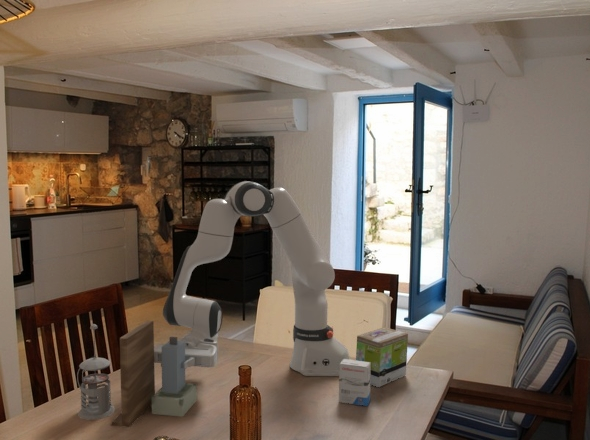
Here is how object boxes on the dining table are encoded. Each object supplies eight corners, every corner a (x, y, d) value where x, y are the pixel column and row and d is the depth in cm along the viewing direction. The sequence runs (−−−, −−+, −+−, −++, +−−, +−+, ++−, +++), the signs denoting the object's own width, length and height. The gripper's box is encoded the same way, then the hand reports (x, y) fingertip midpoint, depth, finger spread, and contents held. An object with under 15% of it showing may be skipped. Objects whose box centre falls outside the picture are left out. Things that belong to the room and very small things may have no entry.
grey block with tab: (185, 385, 161) (185, 334, 159) (177, 393, 155) (176, 341, 153) (170, 383, 162) (170, 333, 160) (161, 392, 156) (161, 340, 154)
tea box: (379, 389, 173) (380, 342, 171) (354, 379, 180) (355, 335, 178) (407, 376, 183) (408, 332, 182) (382, 367, 190) (383, 325, 189)
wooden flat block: (154, 401, 162) (153, 321, 160) (129, 427, 147) (126, 338, 144) (138, 400, 163) (137, 320, 160) (111, 425, 147) (108, 337, 145)
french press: (93, 423, 149) (90, 332, 146) (65, 412, 155) (62, 324, 152) (122, 409, 157) (120, 322, 154) (95, 399, 163) (92, 316, 160)
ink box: (370, 400, 165) (371, 361, 163) (367, 407, 160) (368, 367, 159) (342, 395, 167) (343, 357, 166) (338, 402, 163) (339, 363, 162)
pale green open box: (196, 399, 164) (196, 384, 163) (182, 416, 153) (182, 400, 152) (167, 397, 165) (167, 381, 165) (151, 413, 154) (151, 397, 154)
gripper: (159, 336, 172) (138, 351, 159) (222, 341, 169) (207, 357, 155) (159, 356, 173) (138, 372, 159) (222, 361, 169) (207, 379, 156)
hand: (173, 365), depth 157 cm, fingers closed on grey block with tab, 4 cm apart
